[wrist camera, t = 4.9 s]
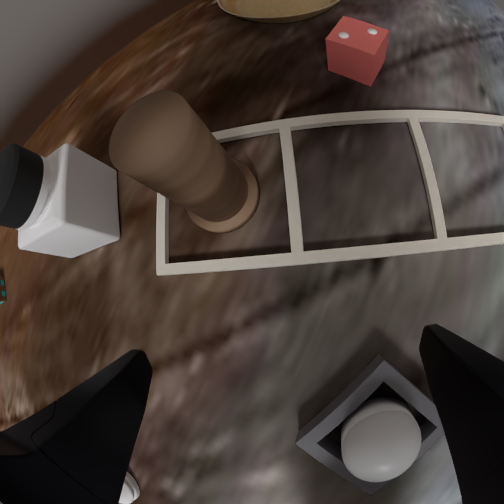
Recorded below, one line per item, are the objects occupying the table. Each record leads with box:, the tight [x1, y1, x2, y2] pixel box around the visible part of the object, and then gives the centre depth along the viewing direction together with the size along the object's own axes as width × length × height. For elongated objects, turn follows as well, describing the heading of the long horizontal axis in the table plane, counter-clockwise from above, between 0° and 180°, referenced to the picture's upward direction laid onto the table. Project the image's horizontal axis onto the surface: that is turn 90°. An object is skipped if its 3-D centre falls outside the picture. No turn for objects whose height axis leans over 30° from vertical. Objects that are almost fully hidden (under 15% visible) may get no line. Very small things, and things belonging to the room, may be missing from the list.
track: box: [156, 110, 504, 275], centre depth 19 cm, size 32×11×1 cm, turn 93°
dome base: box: [295, 354, 445, 496], centre depth 16 cm, size 8×8×2 cm
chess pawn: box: [119, 472, 140, 504], centre depth 17 cm, size 5×5×9 cm
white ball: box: [341, 397, 422, 482], centre depth 14 cm, size 5×5×5 cm
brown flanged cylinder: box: [109, 91, 260, 233], centre depth 17 cm, size 6×6×10 cm
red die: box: [325, 16, 389, 87], centre depth 18 cm, size 4×4×4 cm
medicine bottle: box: [0, 143, 120, 258], centre depth 19 cm, size 7×7×12 cm
